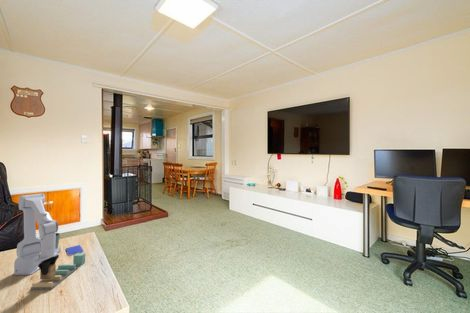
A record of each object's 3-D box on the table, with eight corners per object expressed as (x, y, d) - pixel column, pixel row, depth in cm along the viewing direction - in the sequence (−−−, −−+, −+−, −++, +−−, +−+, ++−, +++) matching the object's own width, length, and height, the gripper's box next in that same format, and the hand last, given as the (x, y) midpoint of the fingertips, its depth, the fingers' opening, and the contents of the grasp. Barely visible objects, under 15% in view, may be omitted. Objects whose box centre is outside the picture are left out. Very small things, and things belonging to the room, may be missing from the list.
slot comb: (30, 289, 102) (30, 283, 102) (58, 269, 120) (58, 264, 120) (52, 289, 103) (52, 283, 103) (76, 269, 121) (77, 264, 121)
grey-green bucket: (37, 253, 138) (37, 236, 138) (56, 248, 147) (56, 231, 147) (42, 258, 133) (42, 239, 133) (62, 252, 141) (62, 234, 141)
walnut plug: (40, 279, 105) (40, 267, 105) (45, 275, 108) (45, 264, 108) (50, 279, 105) (51, 267, 105) (55, 275, 108) (55, 264, 108)
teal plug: (73, 265, 125) (73, 255, 125) (76, 262, 128) (76, 253, 128) (81, 265, 126) (82, 255, 126) (85, 262, 129) (85, 253, 129)
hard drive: (65, 248, 145) (68, 254, 137) (80, 244, 151) (83, 250, 142) (65, 250, 145) (68, 256, 137) (79, 246, 151) (83, 252, 142)
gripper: (44, 252, 99) (44, 280, 99) (66, 240, 114) (66, 264, 114) (28, 252, 99) (28, 281, 99) (53, 240, 113) (52, 265, 113)
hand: (47, 272), depth 106 cm, fingers closed on walnut plug, 3 cm apart
